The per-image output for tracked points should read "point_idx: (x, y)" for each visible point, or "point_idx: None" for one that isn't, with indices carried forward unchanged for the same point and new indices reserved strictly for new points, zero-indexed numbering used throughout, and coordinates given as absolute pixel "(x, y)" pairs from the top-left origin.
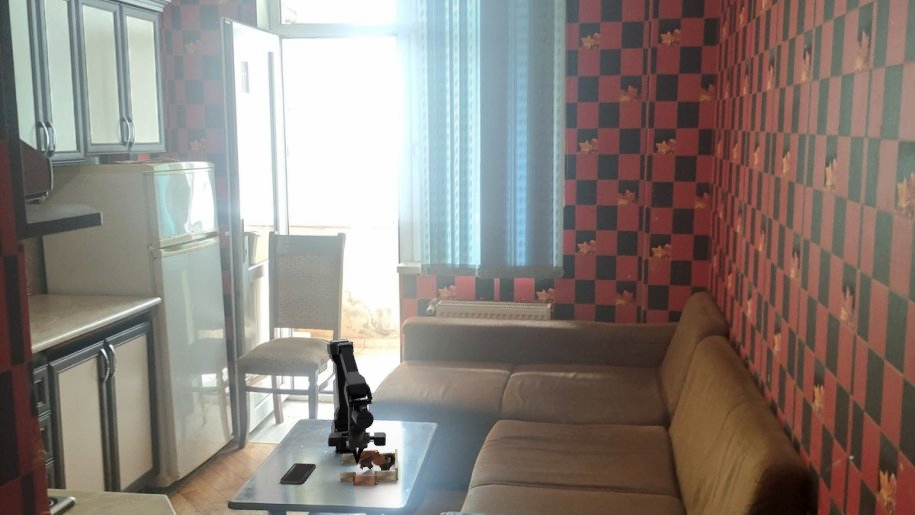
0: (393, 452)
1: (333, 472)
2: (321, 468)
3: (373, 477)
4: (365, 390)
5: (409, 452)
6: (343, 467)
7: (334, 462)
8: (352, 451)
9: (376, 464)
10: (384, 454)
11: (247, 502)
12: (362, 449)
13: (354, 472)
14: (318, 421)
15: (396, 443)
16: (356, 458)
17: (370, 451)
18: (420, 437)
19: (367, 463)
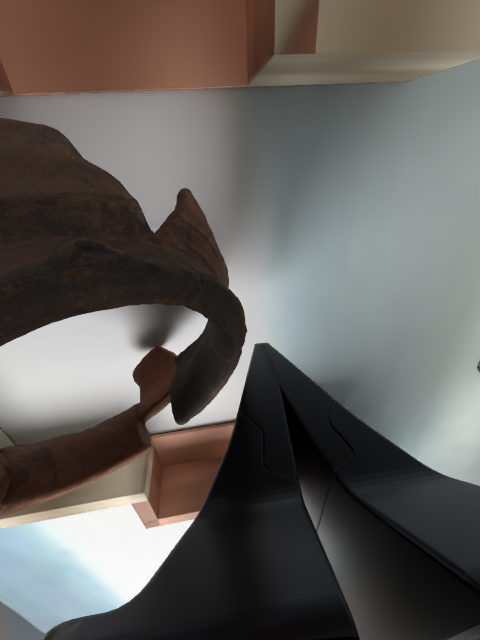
0: (10, 523)
1: (412, 297)
2: (459, 348)
3: None
4: None
5: (4, 530)
6: (338, 367)
7: (375, 413)
8: (399, 458)
9: None
10: (78, 497)
11: None
12: (209, 538)
13: (294, 25)
14: None
15: (114, 561)
16: (285, 380)
17: (190, 508)
18: (35, 598)
19: (58, 189)
